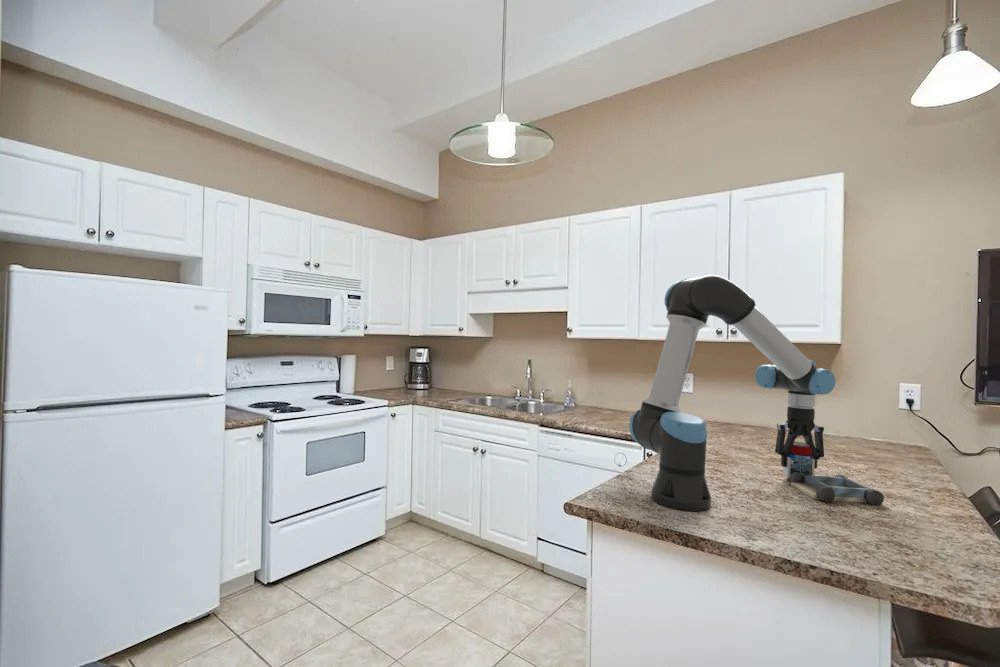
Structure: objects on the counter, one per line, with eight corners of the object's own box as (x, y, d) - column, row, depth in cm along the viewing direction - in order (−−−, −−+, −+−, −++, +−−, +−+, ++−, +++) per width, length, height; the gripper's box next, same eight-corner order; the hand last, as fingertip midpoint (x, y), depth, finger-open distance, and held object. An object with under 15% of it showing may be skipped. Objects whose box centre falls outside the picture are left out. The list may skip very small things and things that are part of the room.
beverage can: (788, 481, 150) (789, 444, 150) (784, 476, 157) (785, 440, 157) (813, 485, 148) (814, 447, 148) (808, 479, 154) (809, 442, 154)
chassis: (818, 501, 132) (818, 487, 132) (787, 484, 148) (787, 471, 148) (885, 505, 130) (886, 491, 130) (847, 487, 146) (847, 474, 146)
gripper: (825, 406, 155) (823, 475, 155) (763, 403, 157) (761, 472, 157) (840, 410, 148) (837, 482, 148) (775, 407, 149) (773, 479, 149)
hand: (798, 477), depth 152 cm, fingers closed on beverage can, 7 cm apart
